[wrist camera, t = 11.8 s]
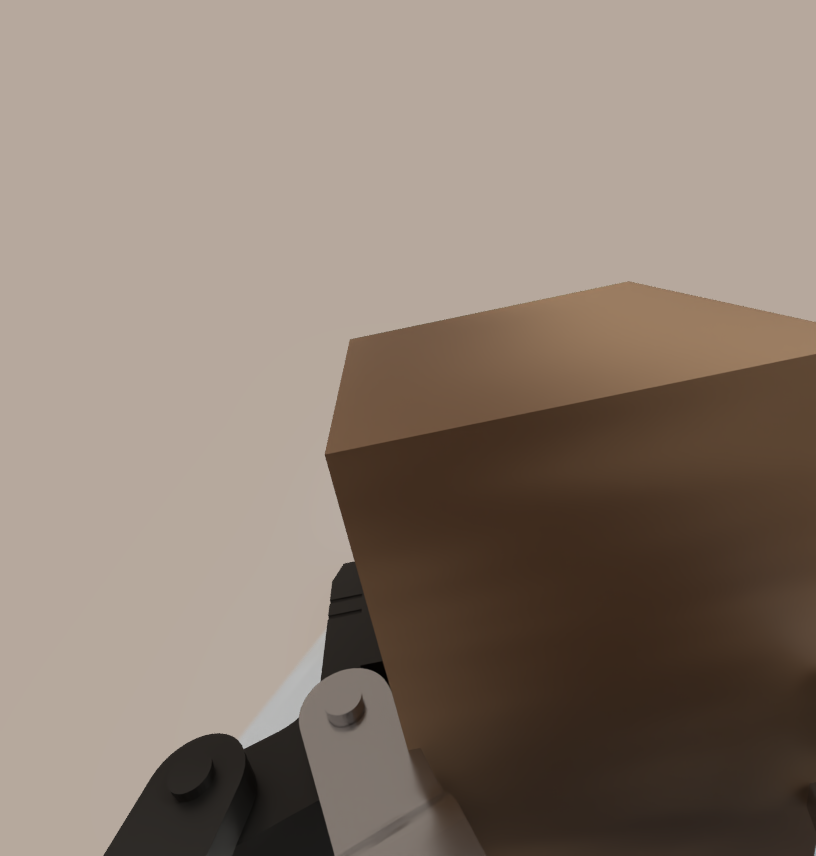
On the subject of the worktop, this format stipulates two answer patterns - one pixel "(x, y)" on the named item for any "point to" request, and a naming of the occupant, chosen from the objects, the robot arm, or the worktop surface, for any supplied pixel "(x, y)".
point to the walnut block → (595, 566)
